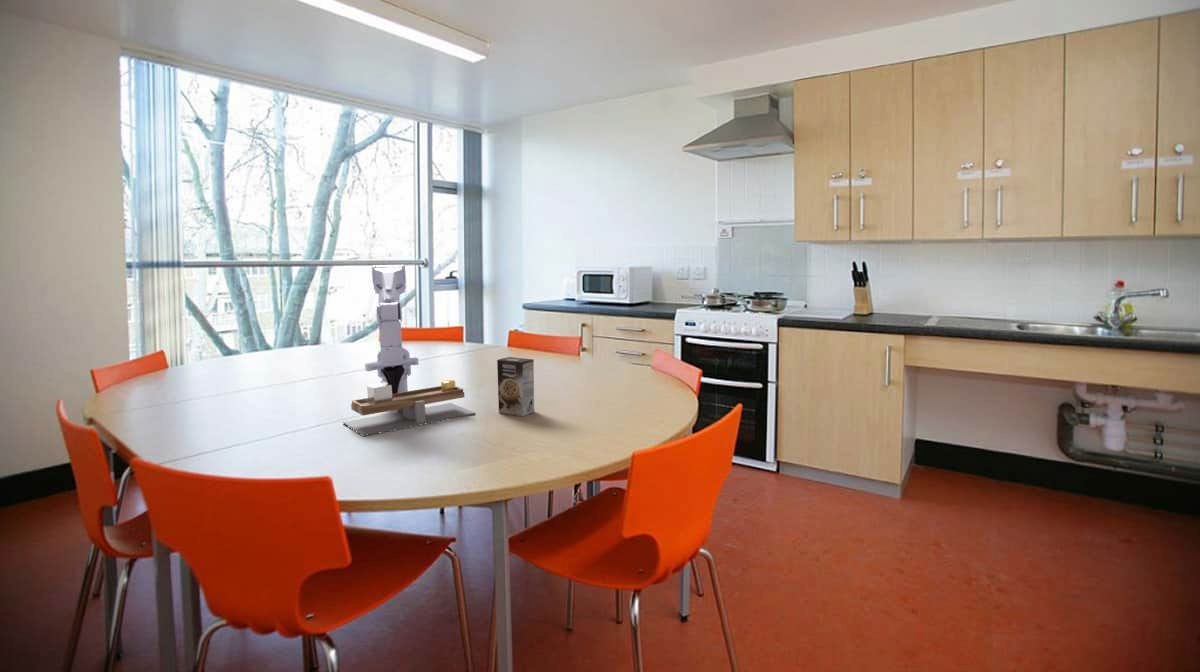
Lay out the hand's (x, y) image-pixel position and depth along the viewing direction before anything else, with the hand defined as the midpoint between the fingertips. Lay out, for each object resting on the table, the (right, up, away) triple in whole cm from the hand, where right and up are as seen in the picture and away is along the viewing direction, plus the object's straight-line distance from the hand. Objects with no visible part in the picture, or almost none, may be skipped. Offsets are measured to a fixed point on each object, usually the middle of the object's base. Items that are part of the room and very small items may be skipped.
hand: (394, 393), depth 181 cm
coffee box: (+33, -7, +10) cm, 36 cm away
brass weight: (+13, -1, +11) cm, 17 cm away
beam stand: (+3, -8, +4) cm, 9 cm away
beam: (+3, -2, +3) cm, 5 cm away
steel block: (-3, -3, -2) cm, 4 cm away
